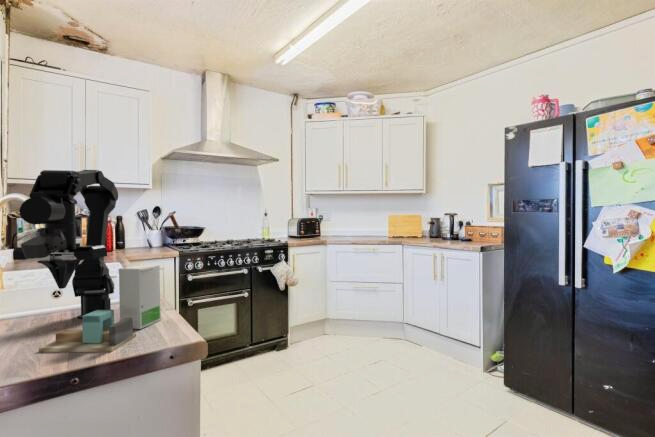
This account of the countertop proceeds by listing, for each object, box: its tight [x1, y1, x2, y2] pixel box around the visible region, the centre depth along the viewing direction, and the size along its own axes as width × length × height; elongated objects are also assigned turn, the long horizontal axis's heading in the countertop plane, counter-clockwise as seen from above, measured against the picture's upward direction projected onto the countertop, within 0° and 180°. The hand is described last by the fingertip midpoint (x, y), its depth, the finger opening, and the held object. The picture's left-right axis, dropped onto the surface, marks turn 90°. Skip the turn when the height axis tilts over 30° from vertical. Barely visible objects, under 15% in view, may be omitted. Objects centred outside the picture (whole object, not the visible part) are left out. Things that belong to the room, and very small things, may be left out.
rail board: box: [38, 317, 137, 353], centre depth 78 cm, size 16×9×5 cm, turn 89°
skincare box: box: [118, 264, 162, 330], centre depth 91 cm, size 8×7×16 cm
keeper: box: [81, 309, 115, 343], centre depth 78 cm, size 4×5×6 cm
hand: (62, 288), depth 81 cm, fingers closed
